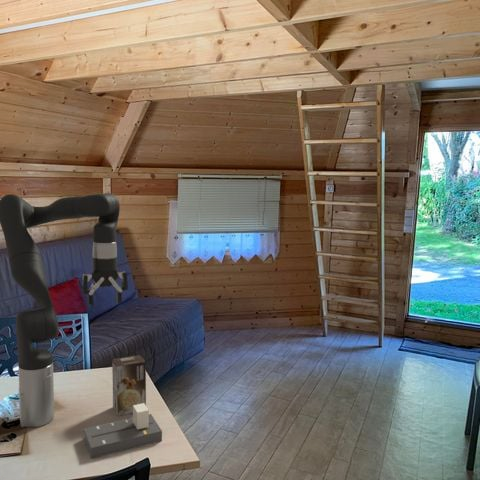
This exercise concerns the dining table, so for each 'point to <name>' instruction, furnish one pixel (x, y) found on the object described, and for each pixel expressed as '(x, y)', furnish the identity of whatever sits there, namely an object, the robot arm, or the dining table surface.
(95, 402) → the dining table surface
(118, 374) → the coffee box
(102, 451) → the fader console
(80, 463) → the dining table surface
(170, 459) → the dining table surface
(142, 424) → the fader knob
